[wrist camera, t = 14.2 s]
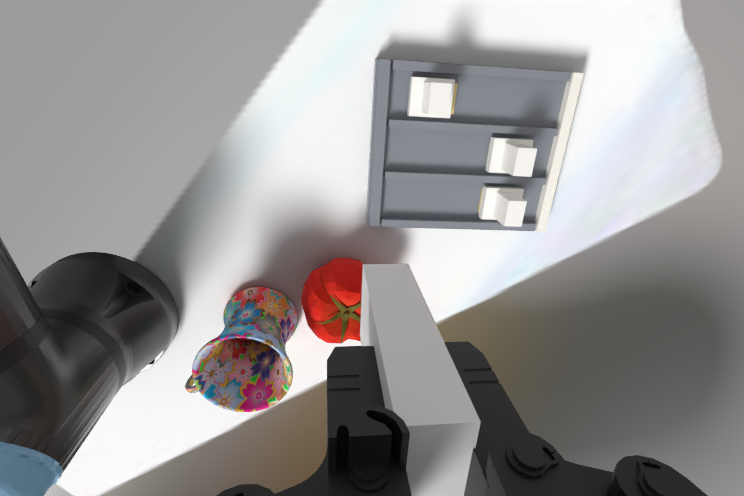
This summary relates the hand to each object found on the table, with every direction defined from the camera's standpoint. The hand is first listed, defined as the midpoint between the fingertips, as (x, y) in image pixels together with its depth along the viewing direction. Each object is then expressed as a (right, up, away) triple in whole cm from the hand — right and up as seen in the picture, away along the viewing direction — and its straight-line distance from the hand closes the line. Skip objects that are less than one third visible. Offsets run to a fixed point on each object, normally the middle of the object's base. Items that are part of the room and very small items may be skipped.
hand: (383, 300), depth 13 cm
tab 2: (+14, +11, +27) cm, 32 cm away
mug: (-15, -7, +34) cm, 38 cm away
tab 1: (+5, +16, +24) cm, 30 cm away
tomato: (-3, -2, +33) cm, 33 cm away
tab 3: (+13, +7, +29) cm, 32 cm away
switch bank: (+9, +12, +28) cm, 32 cm away
